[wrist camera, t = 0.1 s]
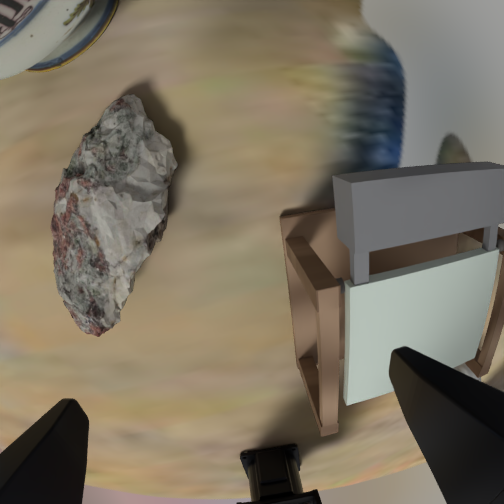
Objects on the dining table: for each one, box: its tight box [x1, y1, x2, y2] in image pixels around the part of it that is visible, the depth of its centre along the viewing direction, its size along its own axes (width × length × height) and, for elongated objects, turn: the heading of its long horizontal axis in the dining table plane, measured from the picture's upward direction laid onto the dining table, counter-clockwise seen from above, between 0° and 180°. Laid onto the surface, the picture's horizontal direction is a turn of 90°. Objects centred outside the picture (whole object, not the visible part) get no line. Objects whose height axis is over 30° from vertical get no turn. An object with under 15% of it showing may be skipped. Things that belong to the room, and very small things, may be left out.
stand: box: [280, 208, 504, 437], centre depth 20 cm, size 13×15×8 cm
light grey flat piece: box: [332, 162, 504, 406], centre depth 16 cm, size 14×11×2 cm
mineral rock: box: [51, 94, 178, 337], centre depth 18 cm, size 15×8×4 cm, turn 147°
